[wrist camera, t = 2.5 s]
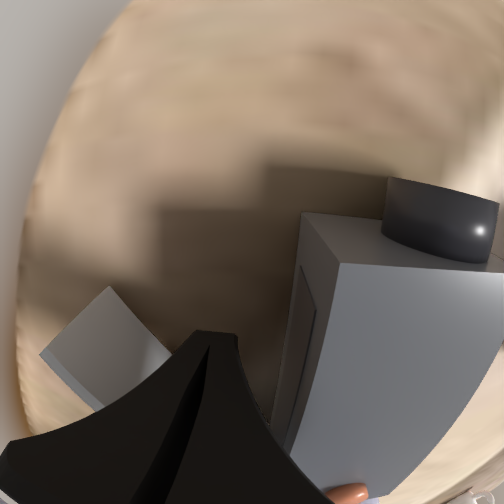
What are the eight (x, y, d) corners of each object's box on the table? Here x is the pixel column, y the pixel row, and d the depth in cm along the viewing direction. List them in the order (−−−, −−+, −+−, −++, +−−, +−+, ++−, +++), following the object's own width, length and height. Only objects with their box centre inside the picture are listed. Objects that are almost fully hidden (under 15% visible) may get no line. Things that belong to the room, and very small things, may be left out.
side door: (268, 432, 13) (268, 503, 9) (249, 438, 13) (245, 507, 9) (112, 282, 10) (46, 346, 6) (96, 297, 11) (34, 359, 6)
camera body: (368, 428, 13) (390, 503, 8) (267, 432, 13) (267, 519, 8) (448, 189, 9) (555, 223, 4) (304, 164, 9) (362, 170, 4)
